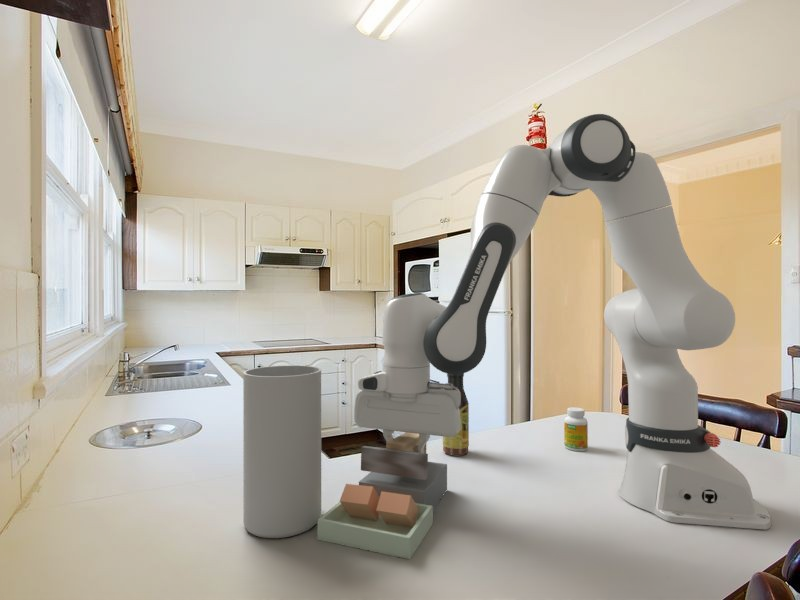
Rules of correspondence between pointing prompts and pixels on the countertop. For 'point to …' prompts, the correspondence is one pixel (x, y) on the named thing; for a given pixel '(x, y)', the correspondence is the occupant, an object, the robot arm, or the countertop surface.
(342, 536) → the tray
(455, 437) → the sauce bottle
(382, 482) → the board
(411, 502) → the peach block
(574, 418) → the supplement bottle
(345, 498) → the orange block
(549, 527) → the countertop surface
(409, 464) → the grey and tan blocks
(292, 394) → the cylinder vase
